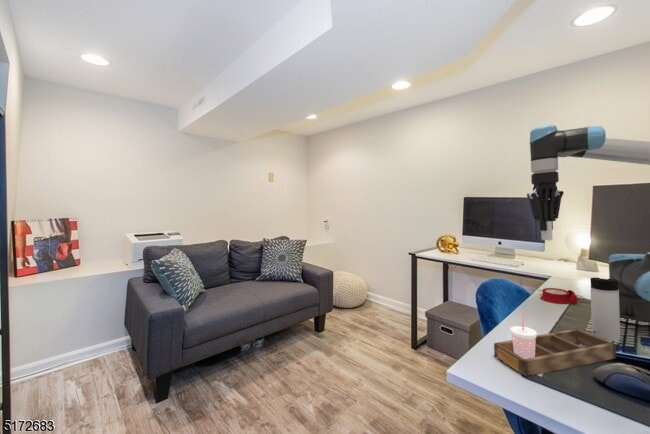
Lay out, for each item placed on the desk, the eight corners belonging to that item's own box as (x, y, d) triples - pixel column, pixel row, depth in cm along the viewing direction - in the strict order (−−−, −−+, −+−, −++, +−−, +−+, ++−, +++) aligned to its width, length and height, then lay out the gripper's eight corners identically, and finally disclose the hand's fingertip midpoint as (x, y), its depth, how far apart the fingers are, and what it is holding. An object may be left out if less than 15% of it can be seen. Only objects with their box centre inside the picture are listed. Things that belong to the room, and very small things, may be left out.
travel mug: (592, 342, 89) (590, 278, 88) (592, 334, 94) (590, 273, 93) (621, 348, 85) (619, 281, 84) (619, 339, 90) (617, 276, 89)
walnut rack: (576, 341, 91) (576, 328, 91) (616, 358, 80) (615, 344, 80) (493, 356, 85) (492, 343, 85) (523, 377, 75) (523, 362, 75)
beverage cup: (512, 354, 86) (510, 307, 85) (538, 359, 82) (536, 311, 81) (510, 364, 81) (508, 315, 80) (538, 370, 77) (536, 318, 76)
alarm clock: (536, 287, 133) (577, 282, 126) (540, 300, 133) (582, 297, 125) (538, 294, 125) (583, 289, 117) (543, 308, 124) (588, 305, 116)
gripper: (549, 172, 105) (552, 237, 106) (519, 174, 103) (521, 240, 104) (570, 169, 98) (573, 239, 99) (538, 171, 96) (541, 242, 97)
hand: (546, 239), depth 101 cm, fingers closed
